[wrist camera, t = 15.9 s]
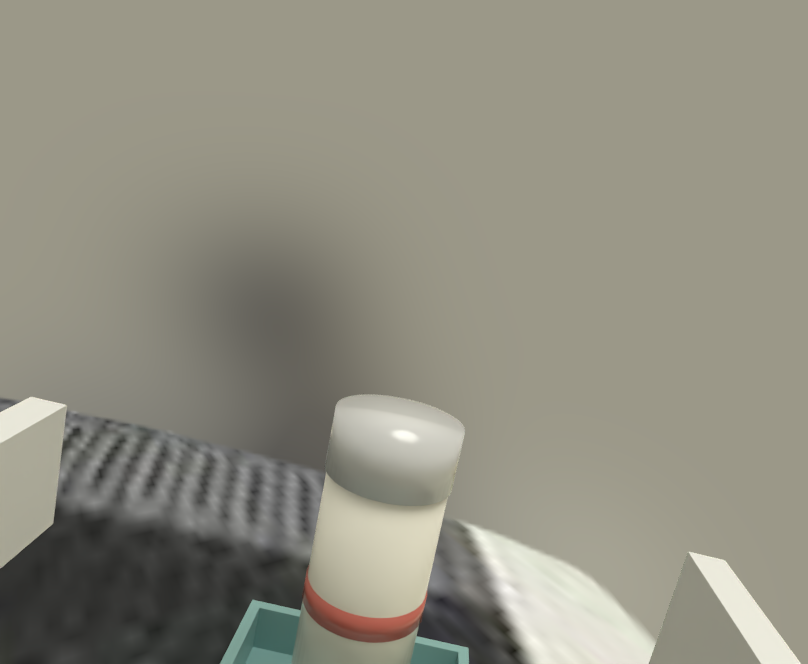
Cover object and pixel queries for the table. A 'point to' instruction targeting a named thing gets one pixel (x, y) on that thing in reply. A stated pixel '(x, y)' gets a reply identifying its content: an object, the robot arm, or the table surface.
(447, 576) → the table surface
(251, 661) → the parts tray
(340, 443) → the fuse
